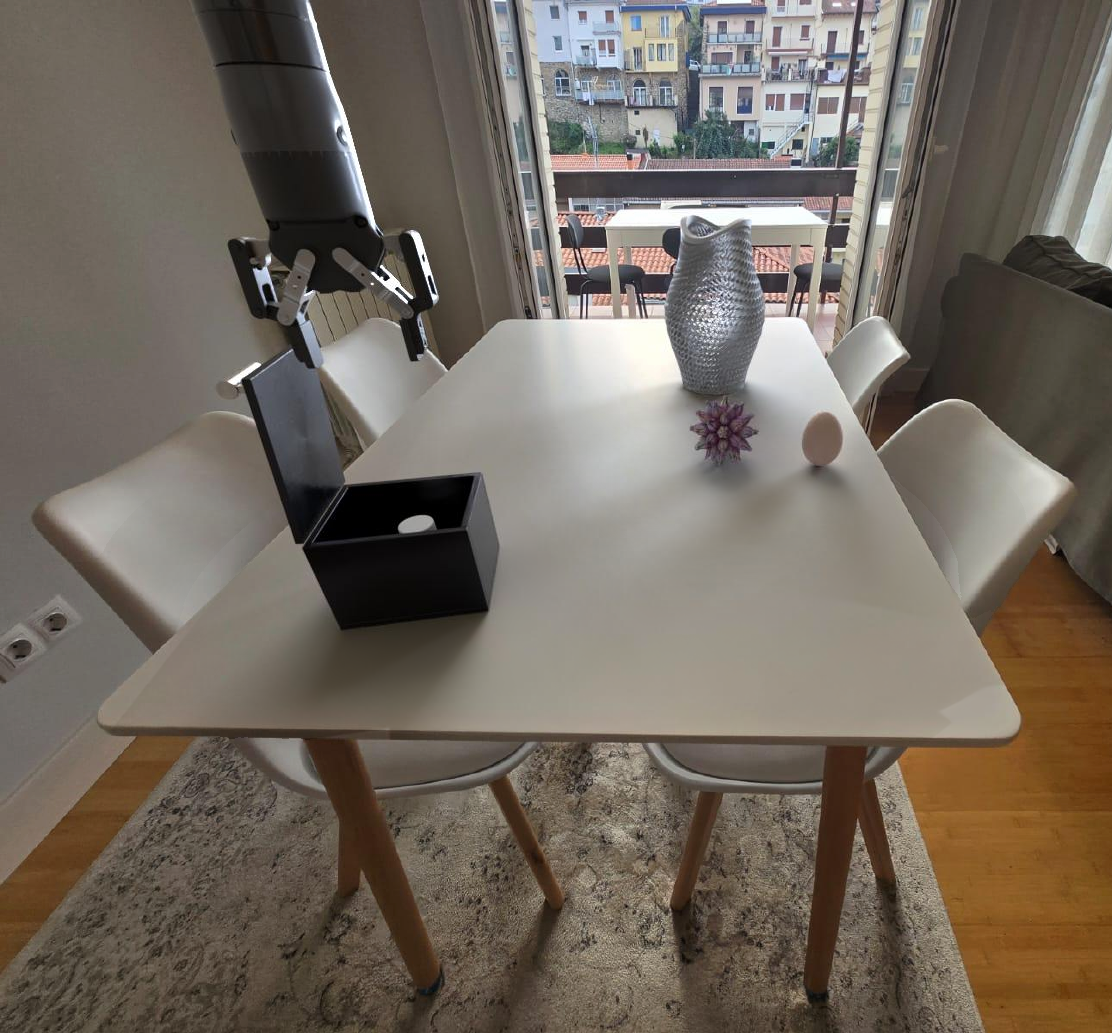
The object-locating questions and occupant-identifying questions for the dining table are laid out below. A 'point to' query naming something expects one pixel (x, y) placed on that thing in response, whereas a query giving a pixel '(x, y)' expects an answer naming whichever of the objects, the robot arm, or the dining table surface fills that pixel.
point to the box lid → (292, 435)
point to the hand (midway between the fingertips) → (367, 362)
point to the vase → (747, 303)
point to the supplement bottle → (417, 524)
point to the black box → (405, 551)
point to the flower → (723, 430)
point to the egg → (822, 439)
